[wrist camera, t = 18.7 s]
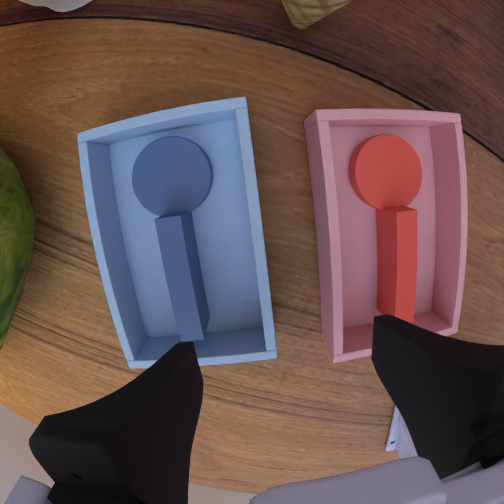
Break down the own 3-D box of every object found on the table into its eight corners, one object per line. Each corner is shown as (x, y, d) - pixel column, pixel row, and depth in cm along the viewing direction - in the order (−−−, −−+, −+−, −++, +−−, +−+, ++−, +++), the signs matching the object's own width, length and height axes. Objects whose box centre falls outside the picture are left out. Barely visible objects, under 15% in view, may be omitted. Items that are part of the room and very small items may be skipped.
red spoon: (413, 300, 20) (434, 318, 17) (354, 312, 20) (370, 333, 17) (409, 135, 17) (434, 131, 14) (344, 137, 17) (361, 131, 14)
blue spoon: (234, 313, 20) (232, 337, 17) (166, 320, 20) (154, 343, 17) (208, 131, 17) (200, 123, 14) (133, 146, 17) (114, 142, 14)
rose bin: (433, 312, 21) (457, 332, 17) (321, 335, 21) (333, 363, 17) (430, 119, 17) (460, 113, 14) (303, 120, 17) (315, 109, 14)
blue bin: (273, 330, 21) (277, 358, 17) (144, 341, 21) (129, 368, 17) (246, 109, 17) (245, 95, 14) (103, 138, 17) (76, 133, 14)
